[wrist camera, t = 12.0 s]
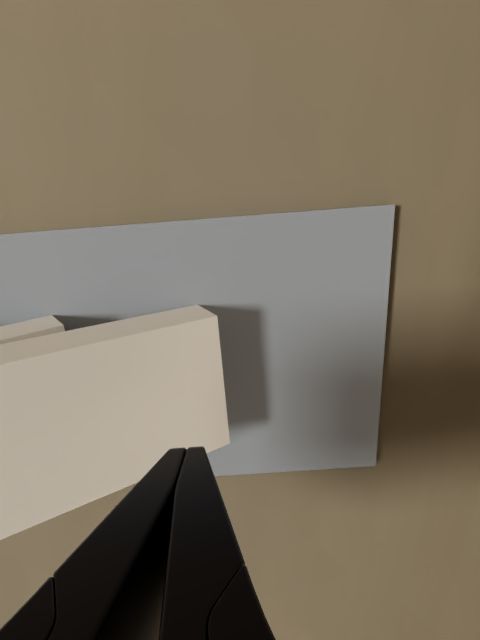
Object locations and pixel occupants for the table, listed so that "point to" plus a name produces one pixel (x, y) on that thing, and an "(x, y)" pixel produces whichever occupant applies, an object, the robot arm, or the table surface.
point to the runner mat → (241, 317)
